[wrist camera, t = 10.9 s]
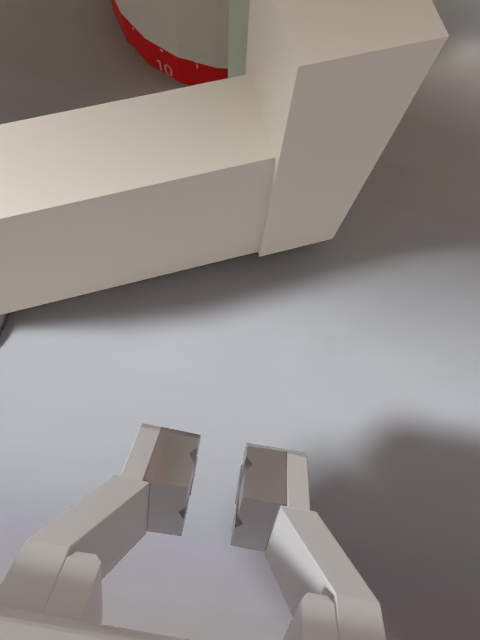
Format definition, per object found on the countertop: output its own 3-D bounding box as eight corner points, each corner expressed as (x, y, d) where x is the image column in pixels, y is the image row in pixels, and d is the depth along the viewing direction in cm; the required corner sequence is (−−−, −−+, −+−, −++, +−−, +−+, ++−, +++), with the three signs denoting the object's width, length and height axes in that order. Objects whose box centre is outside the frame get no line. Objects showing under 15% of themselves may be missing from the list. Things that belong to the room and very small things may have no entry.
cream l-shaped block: (-20, 325, 18) (-333, 194, 8) (-30, 250, 19) (-327, 44, 9) (332, 238, 20) (449, 35, 9) (309, 172, 20) (394, -80, 10)
